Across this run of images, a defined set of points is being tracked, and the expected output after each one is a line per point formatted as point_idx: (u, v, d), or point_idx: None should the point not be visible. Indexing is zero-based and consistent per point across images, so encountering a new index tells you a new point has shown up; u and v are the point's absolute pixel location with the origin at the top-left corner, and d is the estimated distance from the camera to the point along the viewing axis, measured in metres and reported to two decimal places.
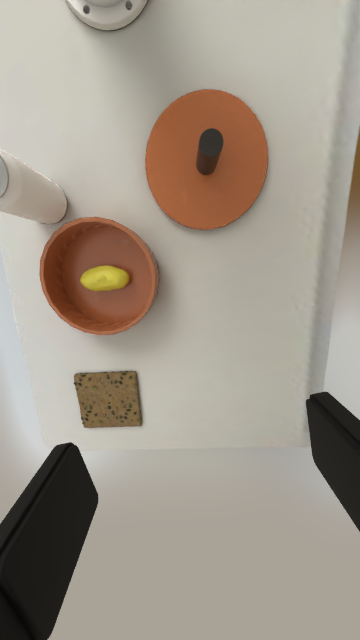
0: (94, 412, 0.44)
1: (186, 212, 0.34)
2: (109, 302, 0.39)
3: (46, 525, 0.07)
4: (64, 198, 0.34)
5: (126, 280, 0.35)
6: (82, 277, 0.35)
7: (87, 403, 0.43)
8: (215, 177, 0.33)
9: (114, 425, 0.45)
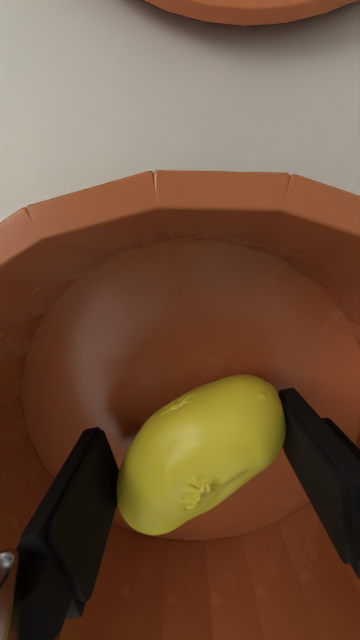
0: None
1: None
2: None
3: (83, 499, 0.07)
4: None
5: (282, 414, 0.08)
6: (124, 514, 0.08)
7: None
8: None
9: None
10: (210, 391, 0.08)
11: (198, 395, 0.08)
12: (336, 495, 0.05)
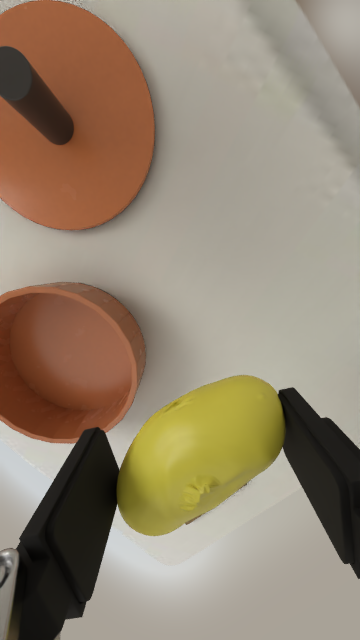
0: None
1: (87, 207, 0.22)
2: (99, 378, 0.28)
3: (83, 498, 0.07)
4: None
5: (281, 415, 0.08)
6: (124, 515, 0.08)
7: None
8: (81, 132, 0.21)
9: None
10: (210, 392, 0.08)
11: (198, 396, 0.08)
12: (336, 495, 0.05)
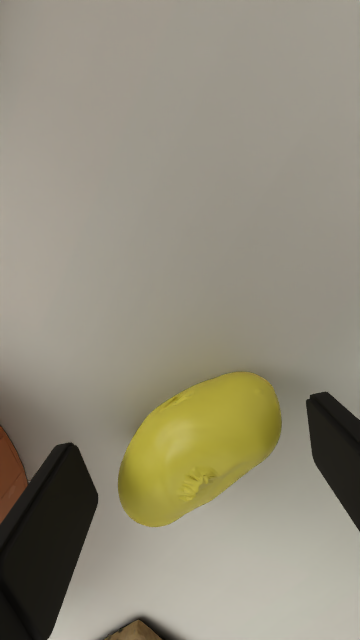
0: None
1: None
2: None
3: (46, 525, 0.07)
4: None
5: (278, 409, 0.08)
6: (125, 507, 0.08)
7: None
8: None
9: None
10: (209, 387, 0.08)
11: (197, 391, 0.08)
12: None
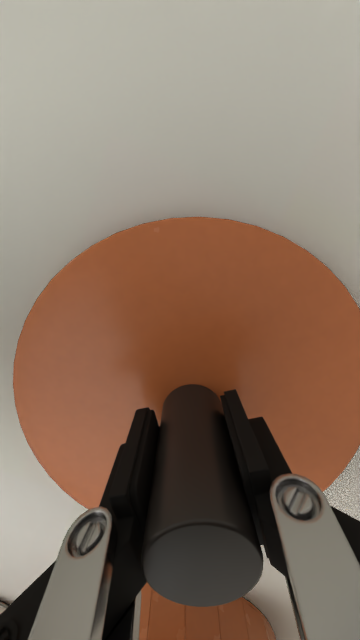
0: None
1: None
2: None
3: (149, 469, 0.08)
4: None
5: None
6: None
7: None
8: None
9: None
10: None
11: None
12: None
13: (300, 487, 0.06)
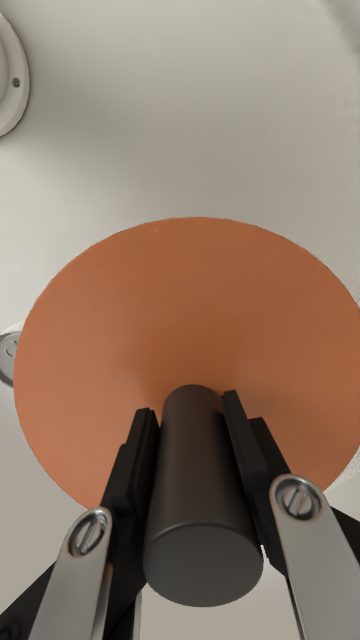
0: None
1: None
2: None
3: (149, 469, 0.08)
4: None
5: None
6: None
7: None
8: None
9: None
10: None
11: None
12: None
13: (300, 487, 0.06)
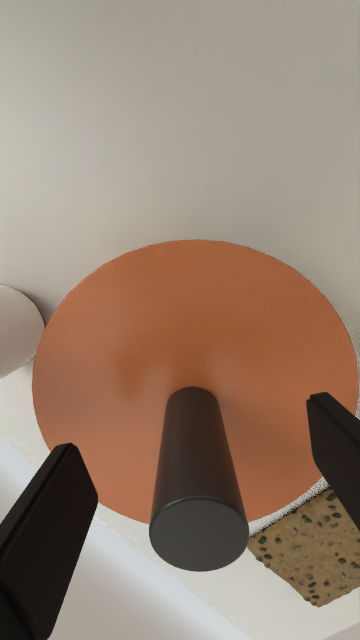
0: (321, 581, 0.22)
1: None
2: None
3: (46, 525, 0.07)
4: (21, 297, 0.16)
5: None
6: None
7: (299, 574, 0.22)
8: (230, 417, 0.12)
9: None
10: None
11: None
12: None
13: None
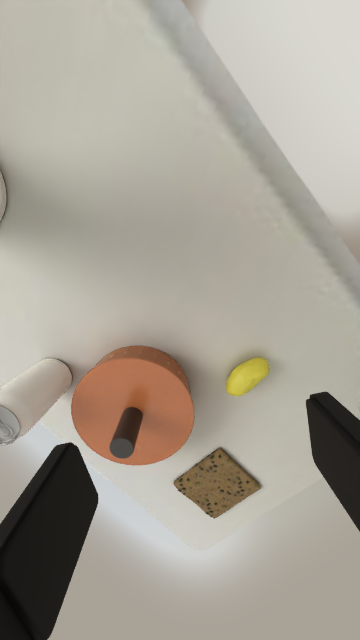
0: (212, 502, 0.42)
1: (148, 454, 0.34)
2: None
3: (46, 525, 0.07)
4: (62, 364, 0.36)
5: (268, 365, 0.34)
6: (230, 390, 0.34)
7: (201, 499, 0.42)
8: (147, 418, 0.33)
9: (238, 502, 0.43)
10: (251, 361, 0.34)
11: (248, 362, 0.34)
12: None
13: None
